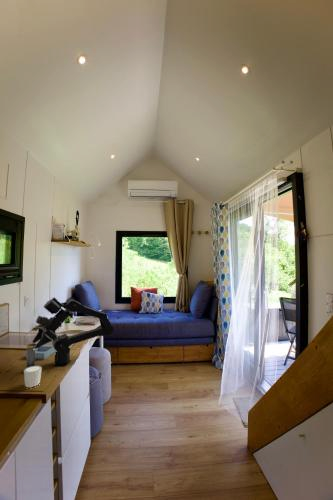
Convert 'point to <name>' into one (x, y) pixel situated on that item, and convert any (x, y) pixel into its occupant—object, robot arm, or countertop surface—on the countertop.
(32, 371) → the white cup
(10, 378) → the countertop surface
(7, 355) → the countertop surface
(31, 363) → the pin
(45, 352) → the pin tray
